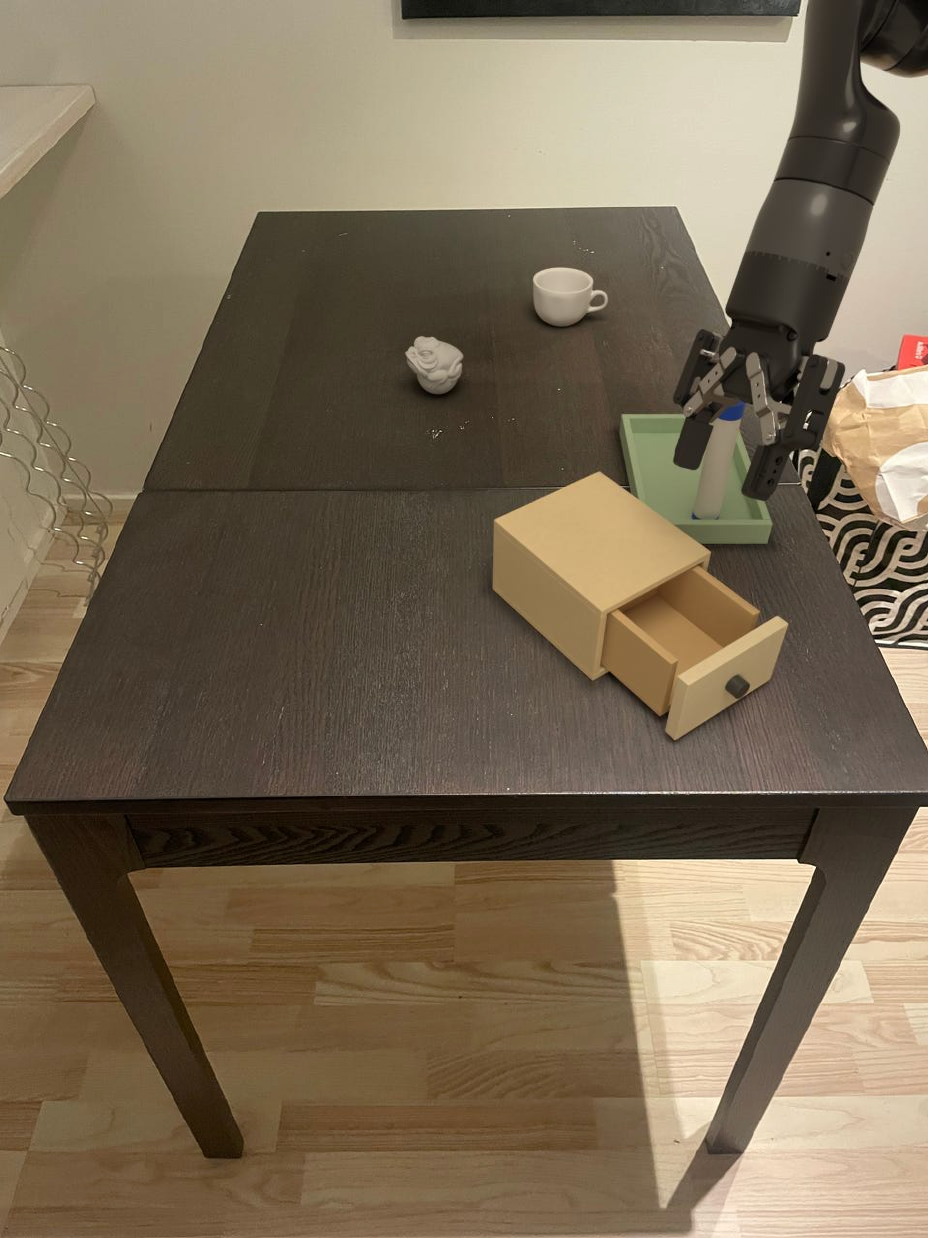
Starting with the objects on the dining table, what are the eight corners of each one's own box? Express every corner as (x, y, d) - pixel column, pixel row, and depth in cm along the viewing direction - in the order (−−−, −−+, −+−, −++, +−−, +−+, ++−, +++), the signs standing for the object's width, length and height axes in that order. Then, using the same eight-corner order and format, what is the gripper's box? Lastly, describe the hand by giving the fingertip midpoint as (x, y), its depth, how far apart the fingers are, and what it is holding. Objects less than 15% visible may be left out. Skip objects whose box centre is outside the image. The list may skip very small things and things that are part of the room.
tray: (767, 543, 95) (773, 524, 93) (640, 543, 95) (643, 524, 93) (729, 432, 109) (733, 413, 107) (619, 432, 109) (621, 413, 107)
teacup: (525, 328, 126) (527, 289, 122) (537, 302, 132) (539, 264, 128) (600, 337, 124) (604, 298, 121) (609, 310, 130) (613, 272, 126)
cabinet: (695, 621, 87) (711, 551, 81) (592, 681, 82) (601, 611, 76) (591, 539, 95) (599, 470, 89) (492, 589, 90) (493, 519, 84)
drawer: (781, 688, 80) (800, 632, 75) (685, 750, 75) (700, 695, 71) (659, 592, 89) (670, 536, 84) (567, 643, 84) (572, 587, 79)
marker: (722, 514, 97) (750, 394, 87) (714, 530, 95) (741, 408, 86) (695, 506, 98) (720, 386, 88) (687, 521, 96) (711, 401, 87)
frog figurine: (401, 383, 117) (398, 330, 112) (456, 374, 118) (455, 321, 113) (414, 409, 112) (412, 355, 108) (471, 399, 114) (471, 345, 109)
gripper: (697, 241, 71) (627, 450, 76) (832, 253, 60) (740, 500, 64) (770, 269, 75) (699, 467, 80) (912, 286, 63) (818, 518, 68)
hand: (717, 482), depth 72 cm, fingers open, 8 cm apart
